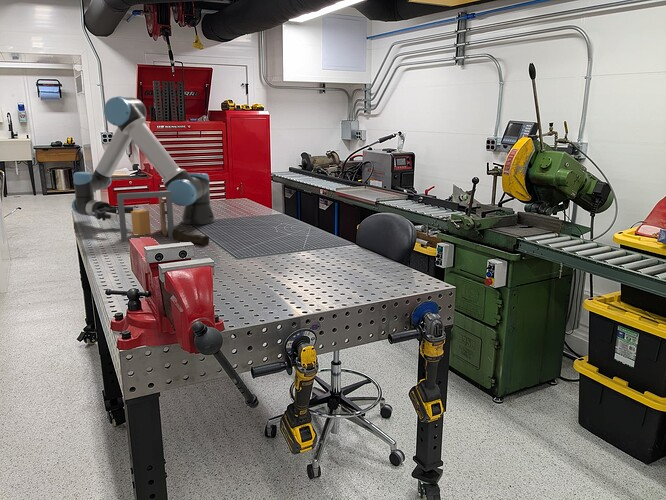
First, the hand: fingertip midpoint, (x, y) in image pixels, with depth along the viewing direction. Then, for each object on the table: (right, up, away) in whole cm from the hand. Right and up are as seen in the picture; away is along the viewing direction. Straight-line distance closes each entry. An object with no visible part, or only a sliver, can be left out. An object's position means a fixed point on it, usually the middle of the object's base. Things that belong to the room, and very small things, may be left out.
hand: (130, 214), depth 213 cm
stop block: (+5, -8, -1) cm, 10 cm away
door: (+14, -7, +2) cm, 16 cm away
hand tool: (+28, -12, -12) cm, 33 cm away
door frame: (+10, -10, -8) cm, 17 cm away
